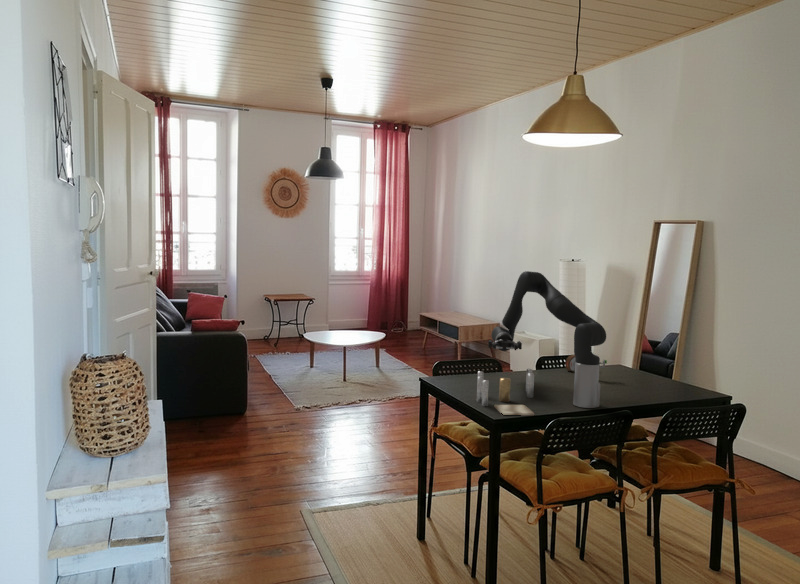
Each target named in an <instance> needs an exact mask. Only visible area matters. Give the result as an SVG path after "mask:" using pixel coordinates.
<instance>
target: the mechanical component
mask: <svg viewBox="0 0 800 584" xmlns="http://www.w3.org/2000/svg"><path fill="white" fill-rule="evenodd" d="M607 363H608V359H603V360H602V362H600V364H599V369H603V368H606V367H605V366H606V365H607Z"/></svg>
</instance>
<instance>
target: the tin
mask: <svg viewBox="0 0 800 584" xmlns="http://www.w3.org/2000/svg"><path fill="white" fill-rule="evenodd" d="M575 361H576V359H575V355H574V354H570V355H568V357H567V358H566V359H565V364H564V366H565V370H567V371H568V372H573V373H575Z"/></svg>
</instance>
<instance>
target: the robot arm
mask: <svg viewBox="0 0 800 584" xmlns="http://www.w3.org/2000/svg"><path fill="white" fill-rule="evenodd" d="M527 293H535V294H538V295H539V296H540V297H542V298H543V299H544V302H545V307H546V309H547V310H548V311H549V313H550V314H551V315H553V316H554V317H555V318H556V319H557V320H559V321H560V322H563V323H565V324H568V325H570V326H572V327H574V334H573V355H575V359H576V361H575V371H574V379H573V380H574V381H573V382H574V383H573V398H572V399H573V400H572V401H573V402H572V404H573V405H574V406H576V407H579V408H584V409H593V408H594V409H595V408H599V407H600V398H601V397H600V396H601V383H600V382H599V381H600V380H599V378H600V377H599V376H600V368H599V366H600V365H601V364H600V363H601V362H600V356H599V355H597V354H594V353H593V351H592V350H593V349H592V348H593V347H596V346H601V345H603V344H604V343H605V342H606V340H607V331H606V330H605V328H604V326H602V325H601V324H600V323H599V322H598V321H597V320H595V319H594V318H592V317H591V316H589V315H587V314H586V313H585V312H584V311H583V310H581V309H580V308H579V307H578V306H576V304H575V303H573V302H572V300H570V299H569V298H567V296H566V295H564V294H563V293H562V292H561V291H559V290H558V289H557V288H556V287H555V286H554V285H553V284H552V283H551V282H550V281H549V280H548V278H546V276H544V274H543V273H540V272H537V271H526V270H525V271H523V272H521V274H520V275H519V277H518V279H517V281H516V284H515V288H514V290H513V294H512V298H511V301H510V304H509V306H508V307H507V310H506V313H505V314H504V316H503V318H502V321H501V323H502V325H503V326H504V327H505V328H504V327H502V326H498V325H497V326H495V327H494V328H493V330H491V339H489V340H488V343H487V344H488V346H487V347H488V348H489V349H491V348H492V349H493V350H497V349H498V350H499V351H501V352H508V351H509V350H514V351H517V350H522V345H523V343H522V341H519V340H518V341H516V342H515V341H514V338H515V331H516V329H517V326H518V324H519V322H520V320H521V318H522V316H523V312H524V309H523V300H524V297H525V296H526V294H527Z"/></svg>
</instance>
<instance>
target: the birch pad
mask: <svg viewBox="0 0 800 584" xmlns="http://www.w3.org/2000/svg"><path fill="white" fill-rule="evenodd" d="M493 408H495V410H497V412H498V413H500V414H501V413H502V414H503V415H521V416H535V412H533V410H531V409H530V408H529V407H527V405H524V404H494V405H493ZM502 414H501V415H502ZM503 415H502V416H503Z"/></svg>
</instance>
